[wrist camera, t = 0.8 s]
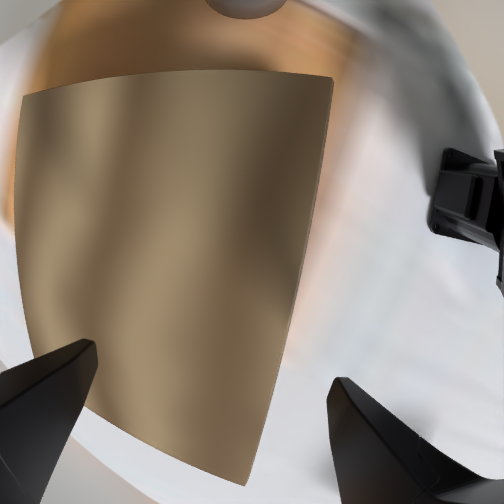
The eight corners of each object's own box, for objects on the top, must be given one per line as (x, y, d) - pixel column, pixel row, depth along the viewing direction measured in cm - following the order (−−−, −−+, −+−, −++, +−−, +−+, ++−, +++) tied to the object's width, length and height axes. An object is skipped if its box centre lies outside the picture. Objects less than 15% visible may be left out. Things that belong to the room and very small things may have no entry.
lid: (333, 83, 9) (332, 77, 8) (248, 478, 14) (244, 486, 13) (31, 96, 13) (23, 95, 12) (43, 367, 18) (37, 370, 18)
